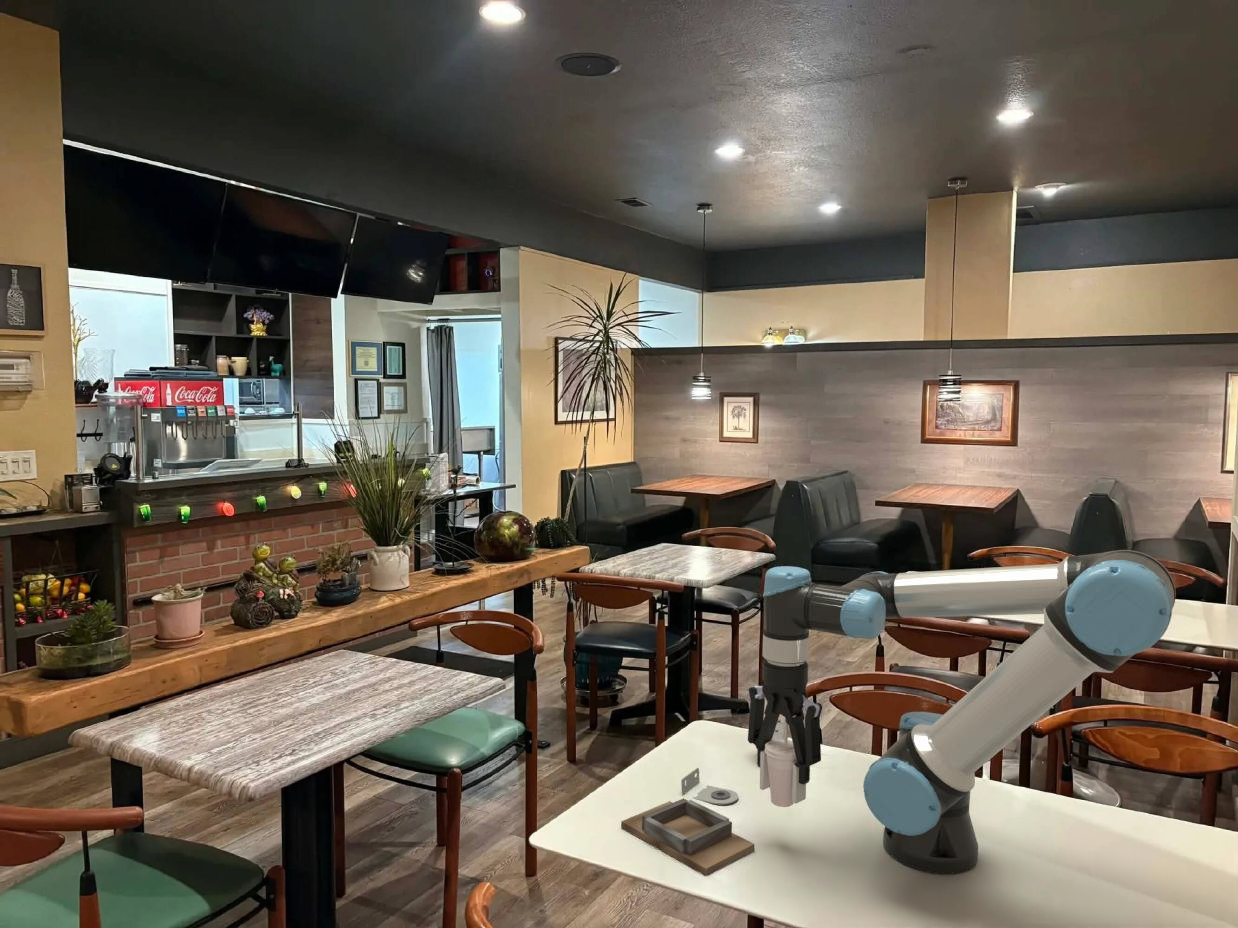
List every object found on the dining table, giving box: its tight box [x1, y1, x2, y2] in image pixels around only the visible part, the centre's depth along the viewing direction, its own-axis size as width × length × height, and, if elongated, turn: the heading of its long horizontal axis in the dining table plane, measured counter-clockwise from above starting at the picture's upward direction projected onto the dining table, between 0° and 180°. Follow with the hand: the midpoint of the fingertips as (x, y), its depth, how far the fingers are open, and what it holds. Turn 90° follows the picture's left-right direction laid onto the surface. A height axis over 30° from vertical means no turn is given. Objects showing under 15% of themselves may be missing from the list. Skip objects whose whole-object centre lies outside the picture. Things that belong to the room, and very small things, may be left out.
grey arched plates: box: [680, 767, 739, 806], centre depth 171 cm, size 7×10×4 cm, turn 57°
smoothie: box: [765, 720, 797, 808], centre depth 152 cm, size 6×6×14 cm
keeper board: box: [620, 798, 756, 877], centre depth 154 cm, size 20×12×4 cm, turn 42°
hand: (782, 793), depth 152 cm, fingers closed on smoothie, 6 cm apart
